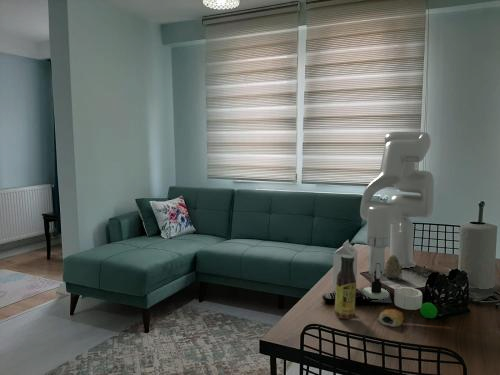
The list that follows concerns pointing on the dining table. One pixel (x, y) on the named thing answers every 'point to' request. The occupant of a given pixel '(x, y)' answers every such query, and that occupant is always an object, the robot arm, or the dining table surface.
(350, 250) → the milk carton
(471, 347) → the dining table surface
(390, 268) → the decorative egg
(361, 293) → the mat
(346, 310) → the sauce bottle
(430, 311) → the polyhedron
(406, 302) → the bowl
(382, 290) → the lid
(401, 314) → the pastry
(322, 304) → the dining table surface
